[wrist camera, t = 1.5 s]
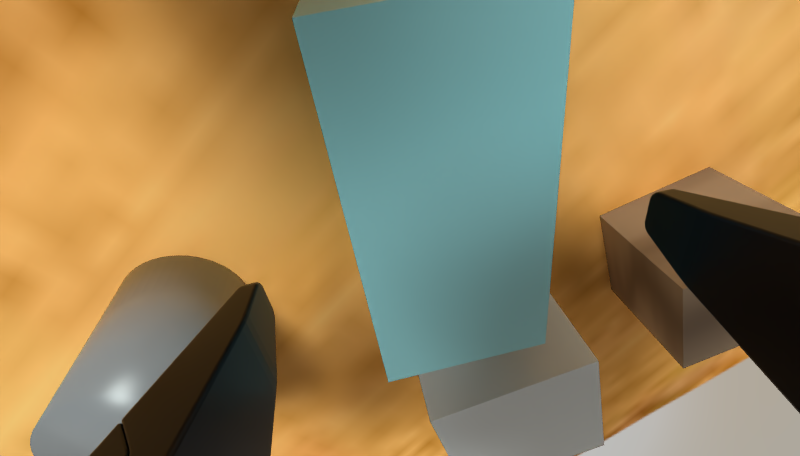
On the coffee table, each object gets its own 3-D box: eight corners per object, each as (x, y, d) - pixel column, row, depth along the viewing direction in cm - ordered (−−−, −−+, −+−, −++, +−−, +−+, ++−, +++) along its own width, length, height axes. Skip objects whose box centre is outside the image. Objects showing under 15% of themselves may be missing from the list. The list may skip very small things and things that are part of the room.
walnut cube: (704, 247, 20) (803, 319, 16) (610, 288, 21) (683, 368, 17) (707, 166, 18) (827, 228, 14) (598, 214, 18) (682, 289, 14)
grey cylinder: (269, 331, 18) (252, 468, 13) (156, 357, 18) (95, 507, 13) (226, 242, 15) (185, 374, 11) (92, 272, 15) (-17, 421, 10)
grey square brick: (538, 336, 22) (603, 445, 17) (434, 374, 22) (468, 492, 17) (522, 254, 19) (598, 361, 14) (399, 301, 19) (430, 421, 14)
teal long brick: (480, 236, 18) (545, 343, 13) (367, 262, 17) (388, 382, 12) (468, -36, 12) (576, -35, 7) (301, -5, 12) (291, 17, 7)
